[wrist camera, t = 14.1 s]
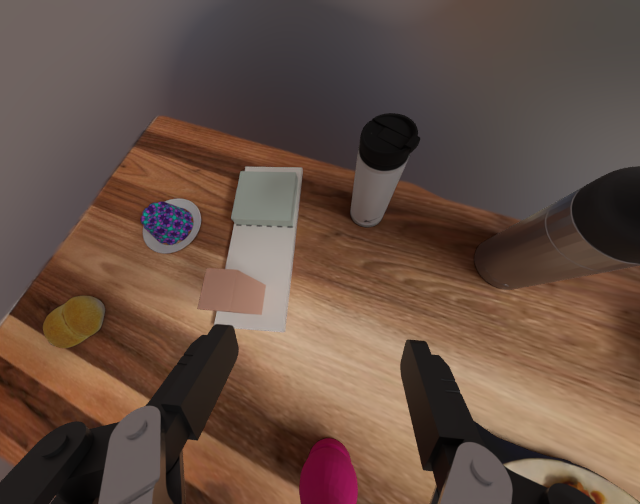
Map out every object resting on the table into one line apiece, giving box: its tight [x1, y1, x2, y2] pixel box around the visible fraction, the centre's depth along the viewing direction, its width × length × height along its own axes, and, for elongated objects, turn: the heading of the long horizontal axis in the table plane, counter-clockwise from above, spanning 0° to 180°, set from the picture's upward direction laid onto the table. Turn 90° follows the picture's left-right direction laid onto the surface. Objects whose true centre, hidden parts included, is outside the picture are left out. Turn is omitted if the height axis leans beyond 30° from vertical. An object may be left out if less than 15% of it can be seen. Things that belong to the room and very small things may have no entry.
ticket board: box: [214, 167, 303, 332], centre depth 42 cm, size 32×12×4 cm, turn 176°
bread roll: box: [43, 296, 105, 348], centre depth 40 cm, size 8×9×4 cm
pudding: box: [141, 199, 201, 253], centre depth 44 cm, size 12×12×5 cm
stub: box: [197, 268, 266, 315], centre depth 33 cm, size 5×4×12 cm
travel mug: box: [350, 113, 420, 227], centre depth 34 cm, size 6×7×20 cm
